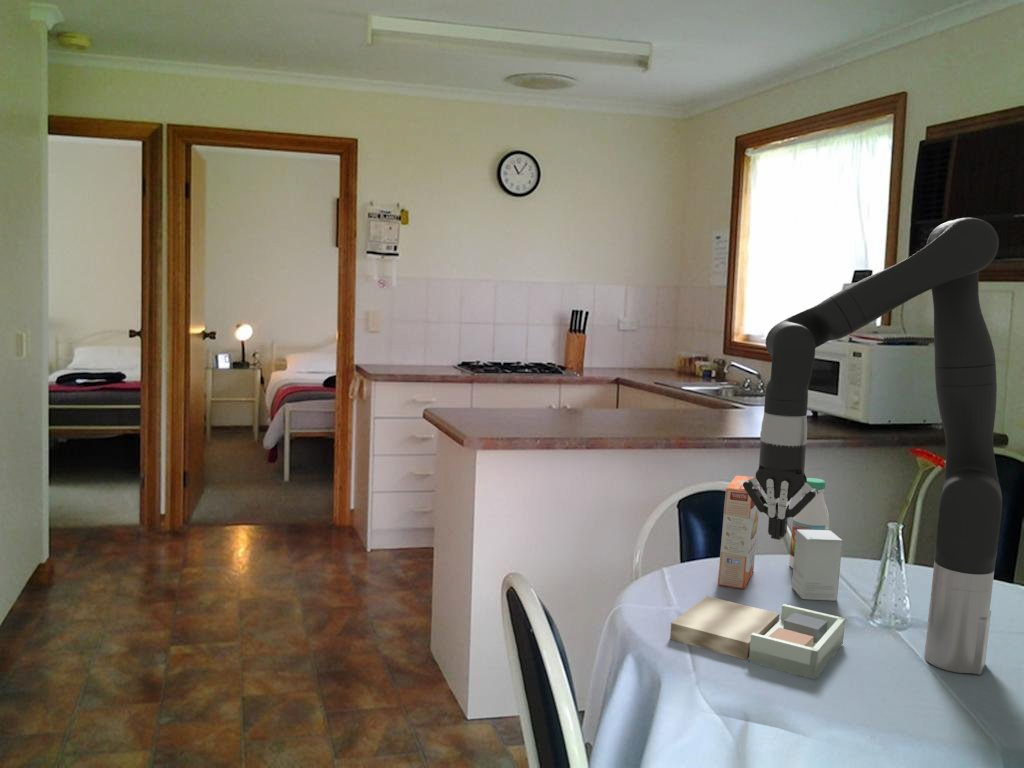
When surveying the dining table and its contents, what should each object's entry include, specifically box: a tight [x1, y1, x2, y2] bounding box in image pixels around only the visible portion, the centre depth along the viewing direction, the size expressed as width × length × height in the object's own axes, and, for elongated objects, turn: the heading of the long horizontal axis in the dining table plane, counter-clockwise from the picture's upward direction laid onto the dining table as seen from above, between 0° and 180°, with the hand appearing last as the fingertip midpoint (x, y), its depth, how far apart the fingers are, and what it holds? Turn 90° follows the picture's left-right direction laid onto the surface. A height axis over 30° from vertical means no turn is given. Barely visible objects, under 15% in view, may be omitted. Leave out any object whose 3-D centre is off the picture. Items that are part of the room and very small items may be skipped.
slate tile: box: [783, 613, 828, 643], centre depth 168 cm, size 6×5×2 cm
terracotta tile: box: [768, 628, 814, 648], centre depth 161 cm, size 6×5×2 cm
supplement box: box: [791, 529, 843, 602], centre depth 195 cm, size 7×7×13 cm
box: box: [748, 603, 846, 681], centre depth 165 cm, size 11×18×5 cm, turn 147°
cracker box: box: [717, 474, 762, 590], centre depth 202 cm, size 14×6×21 cm, turn 158°
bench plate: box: [669, 595, 780, 661], centre depth 172 cm, size 14×17×3 cm
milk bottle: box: [788, 477, 830, 569], centre depth 211 cm, size 8×8×20 cm
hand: (776, 538), depth 165 cm, fingers closed
